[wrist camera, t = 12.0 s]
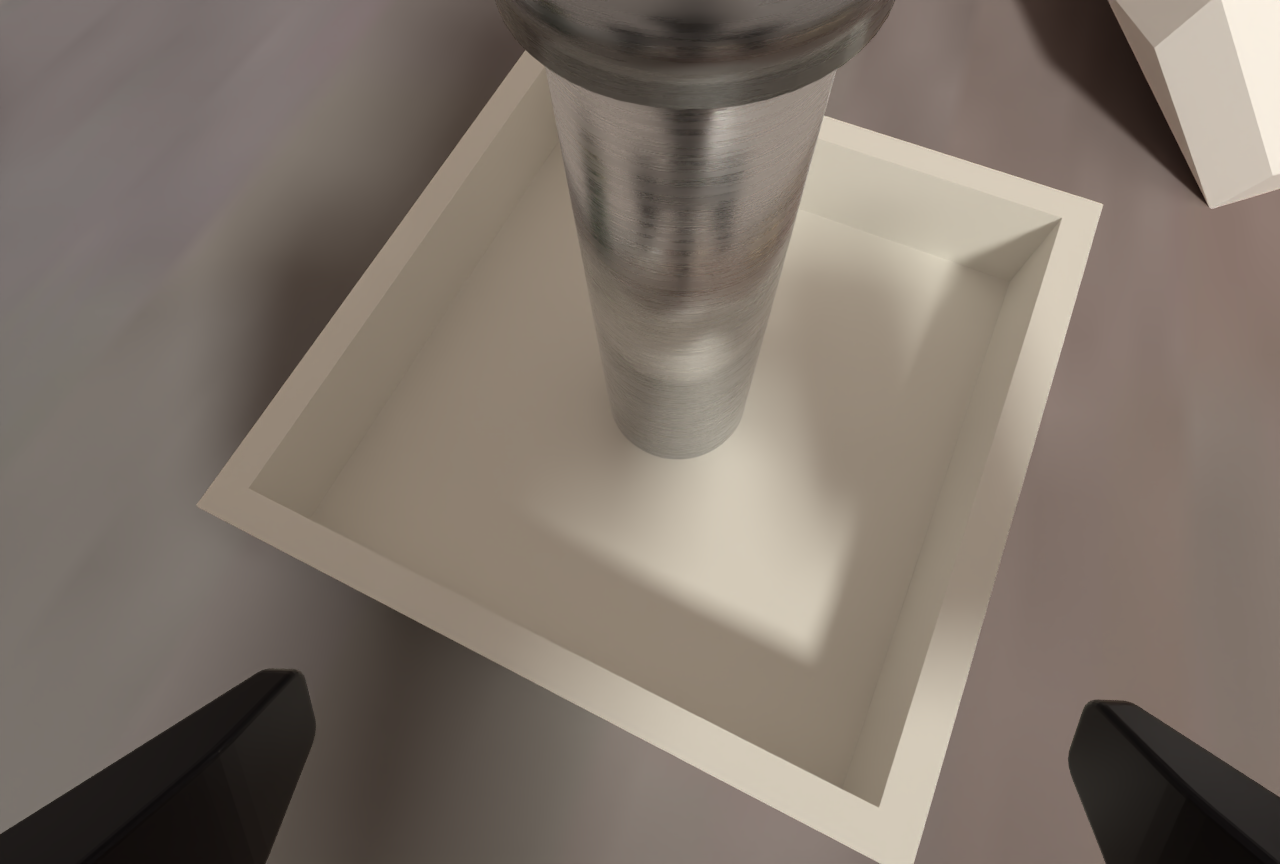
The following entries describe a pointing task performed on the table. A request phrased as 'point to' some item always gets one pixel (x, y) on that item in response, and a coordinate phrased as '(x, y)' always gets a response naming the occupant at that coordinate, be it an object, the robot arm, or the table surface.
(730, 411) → the steel pin
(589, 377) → the tray
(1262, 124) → the white tetrapod block
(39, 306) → the table surface
